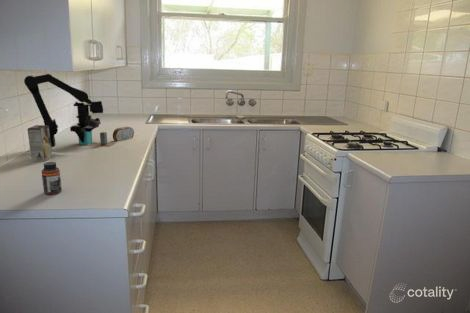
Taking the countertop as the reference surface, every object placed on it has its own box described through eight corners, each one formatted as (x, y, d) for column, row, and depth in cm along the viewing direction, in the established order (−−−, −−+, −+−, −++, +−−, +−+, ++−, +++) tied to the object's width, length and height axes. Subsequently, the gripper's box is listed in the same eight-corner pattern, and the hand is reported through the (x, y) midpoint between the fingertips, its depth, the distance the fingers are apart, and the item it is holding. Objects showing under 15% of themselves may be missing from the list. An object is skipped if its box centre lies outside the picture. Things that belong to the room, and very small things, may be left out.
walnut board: (108, 149, 200) (108, 147, 199) (75, 146, 202) (74, 144, 202) (116, 145, 208) (116, 143, 208) (83, 143, 211) (83, 141, 211)
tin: (131, 138, 227) (130, 125, 225) (135, 139, 226) (134, 126, 224) (112, 142, 215) (111, 128, 213) (116, 143, 213) (115, 129, 211)
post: (105, 145, 203) (104, 133, 201) (100, 145, 203) (99, 132, 201) (107, 144, 205) (106, 132, 204) (103, 144, 206) (102, 131, 204)
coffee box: (39, 156, 181) (36, 124, 177) (52, 156, 182) (49, 125, 178) (30, 161, 172) (26, 128, 168) (44, 161, 173) (41, 128, 169)
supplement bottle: (43, 191, 135) (40, 161, 132) (60, 188, 138) (58, 160, 135) (44, 196, 130) (41, 166, 128) (62, 193, 133) (59, 164, 130)
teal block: (87, 144, 203) (86, 133, 201) (79, 144, 204) (78, 132, 202) (92, 142, 208) (91, 131, 206) (84, 142, 209) (83, 131, 207)
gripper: (88, 117, 191) (90, 145, 195) (105, 112, 209) (107, 138, 213) (68, 116, 193) (71, 144, 197) (87, 111, 211) (89, 137, 215)
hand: (85, 141), depth 205 cm, fingers closed on teal block, 5 cm apart
